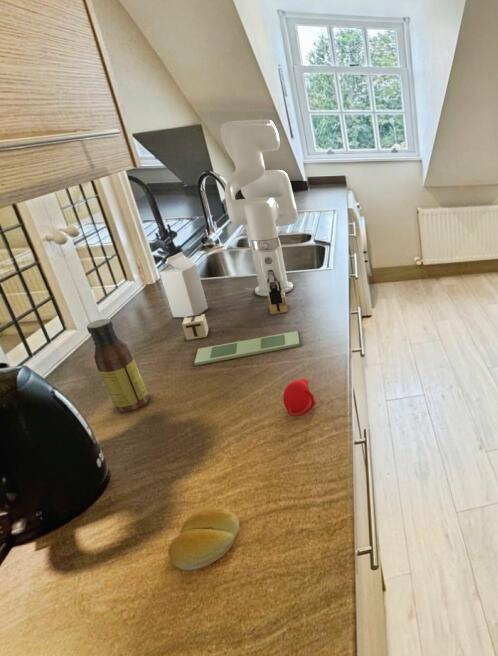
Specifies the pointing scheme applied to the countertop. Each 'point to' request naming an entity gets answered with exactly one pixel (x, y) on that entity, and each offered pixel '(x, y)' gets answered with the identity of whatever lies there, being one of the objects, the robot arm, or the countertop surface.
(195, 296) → the milk carton
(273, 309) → the letter I
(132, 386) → the sauce bottle
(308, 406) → the cap
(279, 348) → the word mat
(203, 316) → the letter T
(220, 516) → the bread roll
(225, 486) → the countertop surface
